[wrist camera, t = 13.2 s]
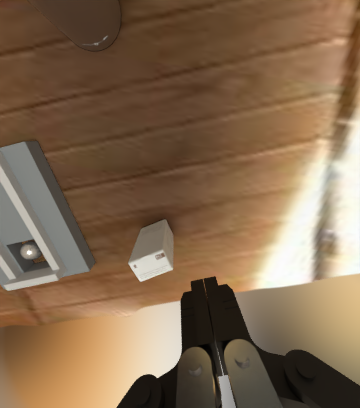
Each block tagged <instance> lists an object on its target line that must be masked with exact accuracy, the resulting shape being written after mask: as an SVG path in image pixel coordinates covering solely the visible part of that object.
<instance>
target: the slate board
mask: <svg viewBox="0 0 360 408" xmlns="http://www.w3.org/2000/svg"><path fill="white" fill-rule="evenodd" d="M32 239H34V240H35V241H36V243H37V245H38V246H39V248H40V250H41V251H42V253H43V255H44V257H45V258H46V260H47V261H44V262H39V263H35V264H34V262H33V261H32V260H28V259H25V258H23V257H22V256H21V254H20V249H21V247H22V243H21V242H23V241H27V240H32ZM94 264H95V260H94V258H93V256H92V254H91V252H90V250H89V248H88V246H87V243H86V241H85V239H84V237H83V235H82V233H81V231H80V229H79V227H78V225H77V223H76V221H75V218H74V216H73V214H72V212H71V210H70V208H69V206H68V204H67V202H66V200H65V198H64V196H63V193H62V191H61V189H60V187H59V185H58V183H57V181H56V179H55V177H54V175H53V173H52V170H51V168H50V166H49V164H48V162H47V160H46V158H45V156H44V154H43V152H42V150H41V148H40V145H39V143H38V141H27V142H21V143H17V144H13V145H10V146H6V147H2V148H0V284H1V286H2V287H3V289H6V290H7V291H9V290H14V289H19V288H24V287H28V286H33V285H38V284H43V283H47V282H52V281H57V280H59V279H60V278H61V277H64V276H69V275H74V274H78V273H83V272H88V271H90V270H91V268H92V267H93V265H94Z"/></svg>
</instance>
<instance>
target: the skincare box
mask: <svg viewBox="0 0 360 408" xmlns="http://www.w3.org/2000/svg"><path fill="white" fill-rule="evenodd" d="M128 264H129V265H130V267H131V269H132V270H133V272H134V273H135V275H136V276H137V278H138V279H139V280H140V282H141V281H144V280H146V279H149V278H152V277H154V276H157V275H160V274H162V273H165V272H168V271H170V270H173V233H172V231H171V229H170V227H169V225H168V223H167V221H166V219H164V220H162V221H159V222H157V223H154V224H151V225H149V226H147V227H144V228H142V229H141V230H140V233H139V235H138V238H137V241H136V243H135V246H134V249H133V251H132V254H131V257H130V259H129V262H128Z"/></svg>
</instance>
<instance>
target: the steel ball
mask: <svg viewBox="0 0 360 408" xmlns="http://www.w3.org/2000/svg"><path fill="white" fill-rule="evenodd" d="M20 254H21V256H22V257H23V258H25V259H28V260H33V259H37V258H39V257H40V256H41V255H42V254H43V253H42V251H41V250H40V248H39V246H38V245H37V243H36V241H35V240H30V241H28V242H26V243H24V244H23V245H22V247H21V249H20Z"/></svg>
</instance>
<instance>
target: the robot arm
mask: <svg viewBox="0 0 360 408" xmlns="http://www.w3.org/2000/svg"><path fill="white" fill-rule="evenodd" d="M28 1H29V2H30V3H31V4H32V5H33V6H34V7H35V8H37V9H38V10H39V11H40V12H41V13H42V14H43V15H44V16H45V17H46V18H47V19H49V20H50V21H51V22H52V23H53V24H54V25H55V26H56V27H57V28H58V29H59V30H61V31H62V32H63V33H64V34H65V35H66V36H67V37H68V38H70V39H71V40H72V41H73V42H74V43H75V44H76V45H78V46H79V47H81V48H83V49H86V50H89V51H100V50H103V49H105V48H107V47H108V46H110V45H111V44H112V43H113V41H114V40H115V39H116V37H117V35H118V33H119V29H120V25H121V11H120V5H119V2H118V0H28ZM204 284H205V287H204ZM205 289H206V291H205ZM191 290H192V291H189V292H184V293H183V296H182V298H181V330H182V331H181V333H182V353H181V357H180V359H179V361H178V363H177V364H176V366H175V367H174V368H173V369H171V370H170V371H169V372H167V373H165V374H164V375H162V376H160V377H159V378H156V377H155V376H154V375H150V374H147V375H143V376H141V377H140V378H138V379H137V380H136V381H135V382H134V384H133V385H132V386H131V388H130V389H129V390H128V392H127V393H126V395H125V396H124V398H123V399H122V400H121V402H120V403H119V405H118V406H117V408H222V401H221V391H220V384H219V379H218V376H222V370H221V365H222V369H223V373H224V375H228V376H229V381H230V385H231V390H232V394H233V398H234V402H235V406H236V408H360V386H359V385H358V384H356V383H355V382H353V381H352V380H350V379H349V378H347V377H346V376H344V375H343V374H341V373H340V372H338V371H337V370H335V369H333V368H332V367H330V366H329V365H327V364H326V363H324V362H323V361H321V360H320V359H318V358H317V357H315V356H313V355H312V354H310V353H309V352H306V351H303V350H292V351H289V352H288V353H287V354H286V355H285V356H282V355H277V354H272V353H268V352H266V351H263V350H262V349H260V348H259V347H258V346H256V345H255V344H254V342H253V341H252V339H251V338H250V335H249V333H248V330H247V327H246V324H245V322H244V319H243V316H242V314H241V311H240V308H239V306H238V303H237V301H236V297H235V295H234V292H233V290H232V289H231V288H230V287H229V286H228V285H227V284H224V285H219V286H218V283H217V280H216V277H215V276H214V277H209V278H204V282H203V279H200V280H195V281H191ZM206 294H207V295H206ZM217 348H218V349H217ZM218 352H219V354H218ZM219 357H220V360H219ZM220 361H221V364H220Z"/></svg>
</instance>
